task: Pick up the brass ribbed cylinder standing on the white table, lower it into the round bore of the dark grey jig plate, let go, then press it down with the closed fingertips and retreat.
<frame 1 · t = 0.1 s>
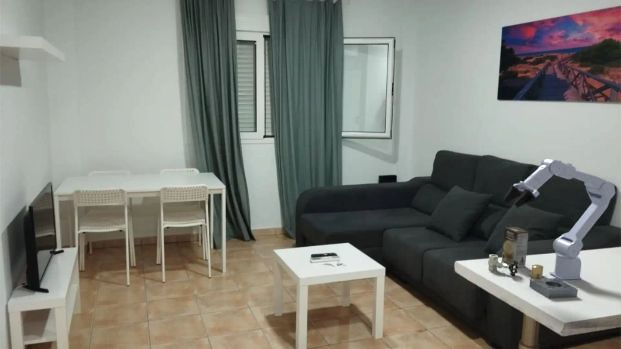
hand: (510, 203, 204), 32 cm above the table, tool tilted 50°, fingers open, 7 cm apart
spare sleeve: (537, 275, 215), on the table
coffee box: (513, 264, 229), on the table
valve: (501, 273, 217), on the table
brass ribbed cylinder: (535, 280, 208), on the table
jig: (552, 291, 196), on the table
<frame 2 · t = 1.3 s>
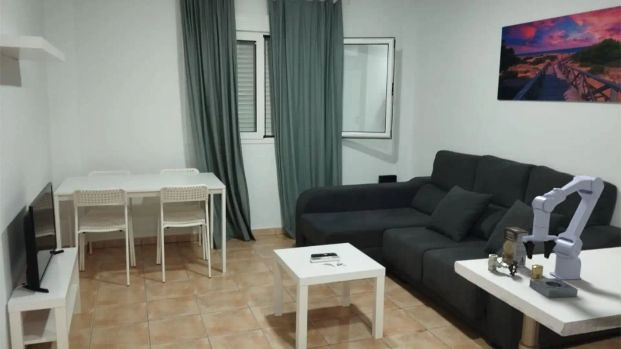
hand: (537, 258, 207), 9 cm above the table, tool pointing down, fingers open, 7 cm apart
nothing on the table moved.
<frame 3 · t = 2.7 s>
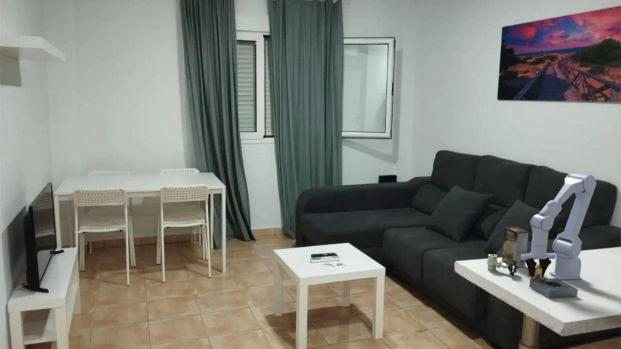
hand: (536, 276, 208), 2 cm above the table, tool pointing down, fingers closed on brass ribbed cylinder, 4 cm apart
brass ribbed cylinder: (535, 280, 208), on the table, touching gripper
everything else where it was.
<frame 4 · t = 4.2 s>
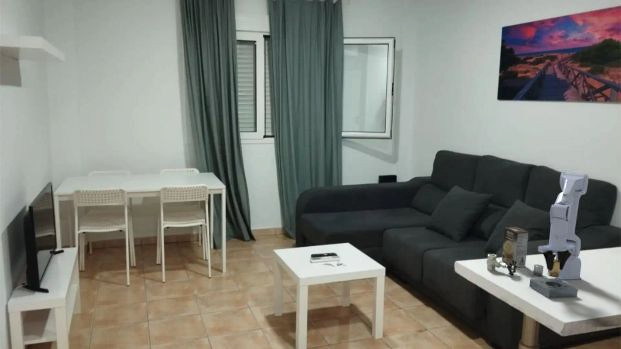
hand: (554, 269, 195), 9 cm above the table, tool pointing down, fingers closed on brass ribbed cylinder, 4 cm apart
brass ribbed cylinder: (553, 275, 196), point 6 cm above the table, touching gripper
everything else where it was.
when the fingers open (4 cm above the table, at t = 5.6 s): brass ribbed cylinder drops 1 cm, resting in jig.
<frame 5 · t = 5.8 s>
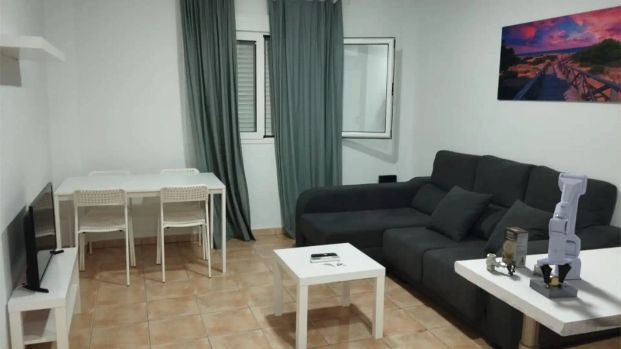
hand: (553, 282, 196), 4 cm above the table, tool pointing down, fingers open, 6 cm apart
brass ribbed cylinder: (551, 291, 197), resting in jig
everything else where it was.
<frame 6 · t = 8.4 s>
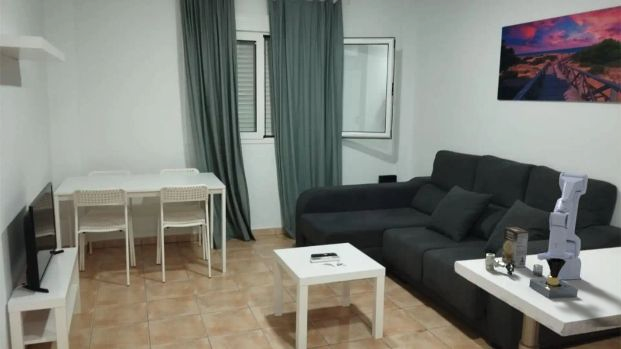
hand: (554, 276, 195), 6 cm above the table, tool pointing down, fingers closed, pressing on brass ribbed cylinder
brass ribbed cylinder: (551, 291, 197), resting in jig, touching gripper
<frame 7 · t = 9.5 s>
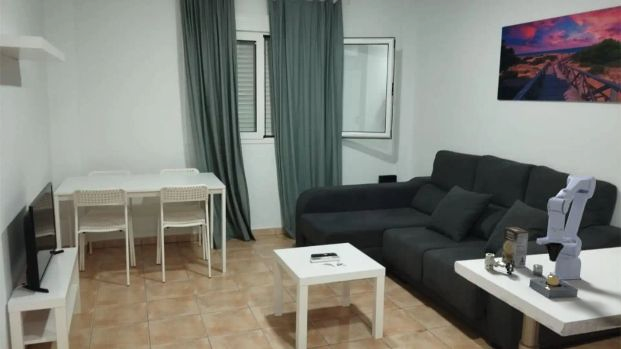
hand: (552, 260, 202), 10 cm above the table, tool pointing down, fingers closed
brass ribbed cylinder: (551, 291, 197), resting in jig
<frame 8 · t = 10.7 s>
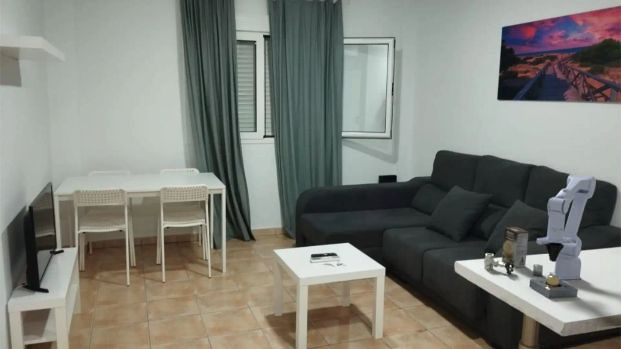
hand: (552, 260, 202), 10 cm above the table, tool pointing down, fingers closed
at the end: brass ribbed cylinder 0.4 cm off-centre on the jig, point 0.0 cm above the jig's base; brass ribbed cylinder tilted 0°; the gripper is holding nothing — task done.
